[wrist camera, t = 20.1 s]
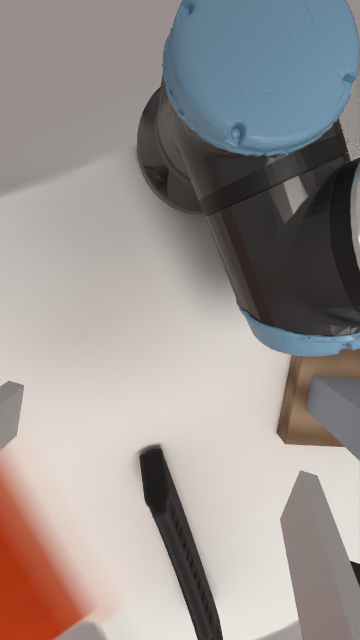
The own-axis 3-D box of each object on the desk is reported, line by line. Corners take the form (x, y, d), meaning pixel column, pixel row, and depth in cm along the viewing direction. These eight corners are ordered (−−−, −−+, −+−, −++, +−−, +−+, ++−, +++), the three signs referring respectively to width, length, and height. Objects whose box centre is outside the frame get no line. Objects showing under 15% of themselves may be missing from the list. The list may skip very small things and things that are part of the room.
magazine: (133, 476, 40) (213, 738, 39) (160, 466, 40) (240, 727, 39) (143, 437, 57) (199, 617, 56) (162, 430, 58) (218, 610, 56)
